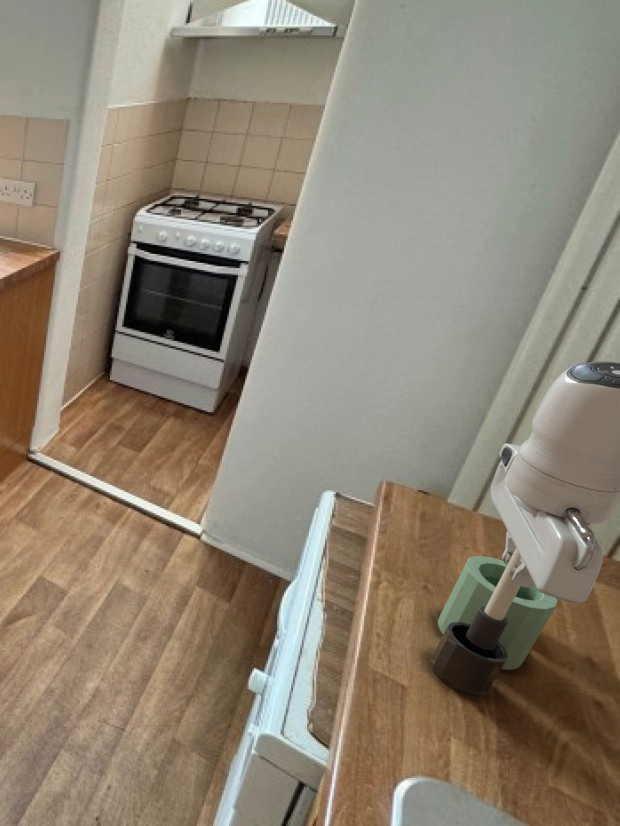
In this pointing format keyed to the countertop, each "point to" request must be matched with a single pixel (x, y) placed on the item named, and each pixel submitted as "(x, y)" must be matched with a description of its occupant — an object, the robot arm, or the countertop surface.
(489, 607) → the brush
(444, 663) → the holder
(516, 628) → the jar
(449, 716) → the countertop surface
